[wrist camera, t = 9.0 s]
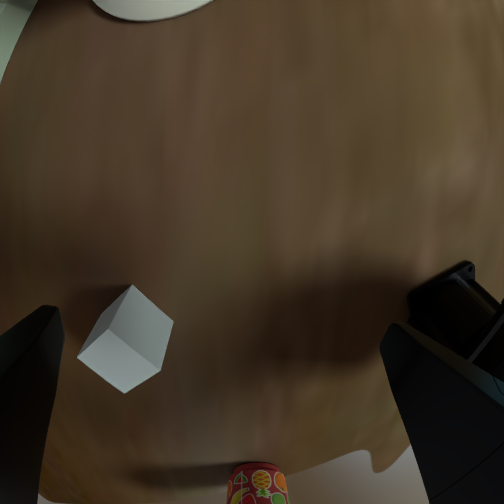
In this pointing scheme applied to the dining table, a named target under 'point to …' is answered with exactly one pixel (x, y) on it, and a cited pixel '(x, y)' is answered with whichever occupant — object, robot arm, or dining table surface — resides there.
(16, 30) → the fence
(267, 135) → the dining table surface
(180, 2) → the coaster
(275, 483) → the smoothie
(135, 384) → the grey block
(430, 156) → the dining table surface
